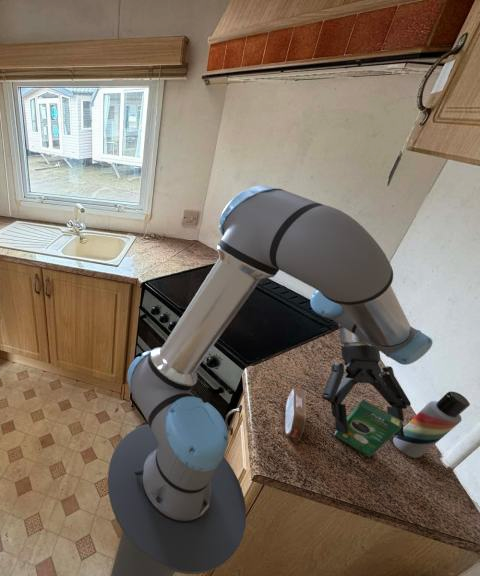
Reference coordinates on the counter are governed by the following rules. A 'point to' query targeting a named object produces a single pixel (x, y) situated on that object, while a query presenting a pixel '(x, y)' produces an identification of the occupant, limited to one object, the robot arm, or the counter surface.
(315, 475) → the counter surface
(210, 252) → the counter surface
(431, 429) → the lotion bottle
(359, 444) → the coffee box
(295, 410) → the tin
